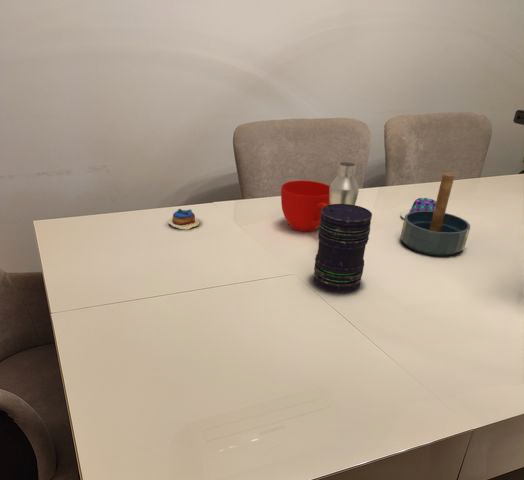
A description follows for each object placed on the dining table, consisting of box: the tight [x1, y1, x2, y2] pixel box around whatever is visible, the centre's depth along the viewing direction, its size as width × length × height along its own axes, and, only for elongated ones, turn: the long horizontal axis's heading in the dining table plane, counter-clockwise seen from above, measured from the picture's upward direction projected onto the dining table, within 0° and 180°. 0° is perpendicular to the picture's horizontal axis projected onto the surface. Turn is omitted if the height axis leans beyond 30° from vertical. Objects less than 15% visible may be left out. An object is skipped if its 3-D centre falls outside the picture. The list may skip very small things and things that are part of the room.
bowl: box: [399, 211, 471, 257], centre depth 122 cm, size 15×15×6 cm
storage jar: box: [313, 204, 373, 294], centre depth 100 cm, size 10×10×15 cm
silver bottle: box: [329, 161, 360, 205], centre depth 111 cm, size 6×7×20 cm
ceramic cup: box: [280, 180, 330, 232], centre depth 125 cm, size 13×17×10 cm
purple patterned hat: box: [400, 197, 436, 219], centre depth 137 cm, size 12×12×5 cm
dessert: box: [168, 208, 200, 230], centre depth 127 cm, size 8×7×6 cm
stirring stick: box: [429, 172, 455, 232], centre depth 118 cm, size 4×4×16 cm
